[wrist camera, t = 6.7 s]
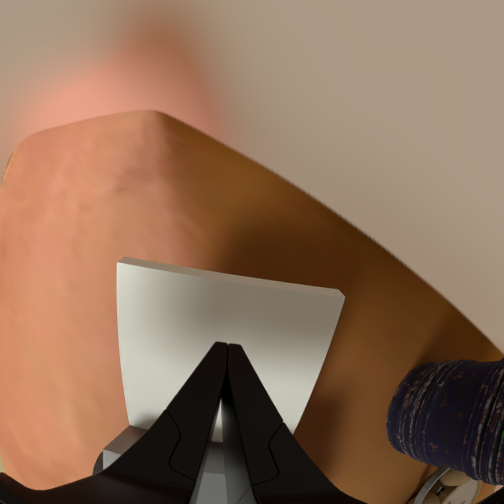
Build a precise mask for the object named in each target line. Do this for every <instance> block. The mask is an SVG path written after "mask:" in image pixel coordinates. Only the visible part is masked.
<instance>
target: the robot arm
mask: <svg viewBox="0 0 504 504" xmlns="http://www.w3.org/2000/svg"><path fill="white" fill-rule="evenodd" d="M220 403H221V420H222V438H223V453H224V467H225V480H226V492H227V503H228V504H367V503H365V502H362V501H360V500H358V499H355V498H353V497H351V496H349V495H347V494H345V493H343V492H342V491H340V490H339V489H338V488H337V487H335V486H334V485H333V484H332V483H331V482H330V481H329V479H328V478H327V477H326V476H325V475H324V474H323V473H322V472H321V470H320V469H319V468H318V467H317V466H316V465H315V463H314V462H313V461H312V460H311V459H310V458H309V456H308V455H307V454H306V453H305V451H304V450H303V449H302V448H301V446H300V445H299V444H298V442H297V441H296V439H295V438H294V436H293V435H292V433H291V432H290V430H289V428H288V427H287V425H286V423H285V422H283V421H284V420H283V418H282V417H281V415H280V413H279V412H278V410H277V408H276V407H275V405H274V403H273V401H272V400H271V398H270V396H269V394H268V393H267V391H266V389H265V387H264V386H263V384H262V382H261V380H260V378H259V377H258V375H257V373H256V371H255V369H254V368H253V366H252V364H251V362H250V360H249V358H248V357H247V355H246V353H245V351H244V349H243V347H242V346H241V345H240V344H235V343H229V344H228V343H226V342H220V341H216V342H214V344H213V345H212V346H211V348H210V349H209V351H208V352H207V353H206V355H205V356H204V357H203V359H202V360H201V362H200V363H199V364H198V366H197V367H196V368H195V370H194V371H193V372H192V374H191V375H190V376H189V378H188V379H187V380H186V382H185V383H184V384H183V386H182V387H181V388H180V390H179V391H178V392H177V394H176V395H175V396H174V398H173V399H172V400H171V402H170V403H169V404H168V406H167V407H166V409H164V411H163V412H162V413H161V415H160V416H159V417H158V418H157V420H156V421H155V422H154V423H153V424H152V426H151V427H150V428H149V429H148V430H147V431H146V432H145V433H144V434H143V435H142V436H141V437H140V438H139V439H138V440H137V441H136V442H135V443H134V444H133V445H132V446H131V447H130V448H128V449H127V450H126V451H125V452H124V453H123V454H122V455H121V456H120V457H119V458H117V459H116V460H115V461H114V462H113V463H112V464H110V465H109V466H108V467H106V468H105V469H104V470H102V471H100V472H98V473H96V474H94V475H92V476H89V477H86V478H83V479H80V480H77V481H75V482H72V483H68V484H65V485H62V486H59V487H55V488H52V489H48V490H34V489H30V488H28V487H26V486H24V485H22V484H21V483H19V482H17V481H16V480H14V479H13V478H11V477H10V476H8V475H7V474H5V473H3V472H1V473H0V504H196V501H197V497H198V493H199V489H200V485H201V481H202V477H203V473H204V469H205V465H206V461H207V457H208V453H209V449H210V445H211V441H212V437H213V433H214V428H215V424H216V420H217V416H218V412H219V408H220ZM476 504H504V487H502V488H501V489H499V490H498V491H496V492H495V493H493V494H491V495H490V496H488V497H487V498H485V499H483V500H482V501H480V502H478V503H476Z"/></svg>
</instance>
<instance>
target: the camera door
mask: <svg viewBox="0 0 504 504" xmlns="http://www.w3.org/2000/svg"><path fill="white" fill-rule="evenodd" d="M344 300H345V296H344V295H343V294H342V293H341V291H340V290H339V289H331V288H323V287H316V286H308V285H301V284H294V283H286V282H279V281H272V280H265V279H258V278H252V277H245V276H238V275H232V274H225V273H219V272H213V271H206V270H200V269H194V268H188V267H182V266H176V265H170V264H164V263H158V262H152V261H147V260H141V259H135V258H130V257H124V258H122V259H121V260H119V261H118V262H117V319H118V337H119V351H120V362H121V371H122V380H123V387H124V394H125V401H126V407H127V413H128V419H129V424H130V425H132V426H136V427H140V428H144V429H149V428H150V427H151V426H152V424H153V423H154V422H155V421H156V420H157V418H158V417H159V416H160V415H161V413H162V412H163V411H164V409H166V407H167V406H168V404H169V403H170V402H171V400H172V399H173V398H174V396H175V395H176V394H177V392H178V391H179V390H180V388H181V387H182V386H183V384H184V383H185V382H186V380H187V379H188V378H189V376H190V375H191V374H192V372H193V371H194V370H195V368H196V367H197V366H198V364H199V363H200V362H201V360H202V359H203V357H204V356H205V355H206V353H207V352H208V351H209V349H210V348H211V346H212V345H213V344H214V342H216V341H220V342H226V343H228V344H229V343H235V344H240V345H241V346H242V347H243V349H244V351H245V353H246V355H247V357H248V358H249V360H250V362H251V364H252V366H253V368H254V369H255V371H256V373H257V375H258V377H259V378H260V380H261V382H262V384H263V386H264V387H265V389H266V391H267V393H268V394H269V396H270V398H271V400H272V401H273V403H274V405H275V407H276V408H277V410H278V412H279V413H280V415H281V417H282V418H283V420H284V421H283V422H285V423H286V425H287V427H288V428H289V430H290V432H291V433H292V435H293V434H294V431H295V429H296V427H297V425H298V423H299V421H300V418H301V416H302V414H303V412H304V409H305V407H306V405H307V402H308V400H309V398H310V395H311V393H312V390H313V388H314V385H315V383H316V380H317V378H318V375H319V373H320V370H321V368H322V365H323V362H324V360H325V357H326V354H327V351H328V349H329V346H330V343H331V340H332V337H333V334H334V331H335V328H336V325H337V322H338V319H339V316H340V313H341V310H342V306H343V303H344ZM212 441H216V442H223V438H222V420H221V403H220V408H219V412H218V416H217V420H216V424H215V428H214V433H213V437H212Z"/></svg>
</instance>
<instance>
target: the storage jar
mask: <svg viewBox="0 0 504 504" xmlns="http://www.w3.org/2000/svg"><path fill="white" fill-rule="evenodd" d="M386 426H387V435H388V439H389V441H390V443H391V445H392V446H393V448H395V449H396V450H397V451H399V452H401V453H403V454H407V455H409V456H411V457H412V458H413V459H415V460H417V461H420V462H422V463H427V464H430V465H433V466H436V467H448V468H451V469H455V470H458V471H461V472H465V474H466V475H467V476H468V477H471V478H472V479H473V480H476V481H477V480H481V481H483V482H485V483H489V484H492V485H503V486H504V358H502V359H501V360H500V361H492V362H481V363H479V362H478V361H475V360H452V361H445V362H440V363H426V364H423V365H420V366H418V367H417V368H415V369H414V370H413V371H412V372H410V373H409V374H408V375H407V376H406V378H405V379H404V380H403V381H402V383H401V384H400V385H399V387H398V389H397V390H396V392H395V394H394V396H393V399H392V401H391V404H390V407H389V411H388V415H387V424H386Z"/></svg>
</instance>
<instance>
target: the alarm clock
mask: <svg viewBox="0 0 504 504" xmlns="http://www.w3.org/2000/svg"><path fill="white" fill-rule="evenodd" d="M437 480H439V481H438V482H437V483H436V484H435V482H436V481H437ZM434 484H435V485H434ZM433 485H434V486H433ZM432 486H433V487H432ZM431 487H432V488H431ZM481 487H482V481H481V480H477V481H476V480H473V479H472V478H471V477H468V476H467V475H466V474H465V472H461V471H458V470H455V469H451V468H448V467H441V468H440V469H439V470H438V471H436V472H435V473H434V474H433V475H432V476H431V477H430V479H429V480H428V481H427V482H426V483H425V485H424V486H423V487H422V489H421V490H420V492H419V493H418V495H417V496H416V497H414V498H413V499H411V500H410V501H409V502H408V503H407V504H474V503H475V501H476V499H477V497H478V495H479V493H480V490H481Z"/></svg>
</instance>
